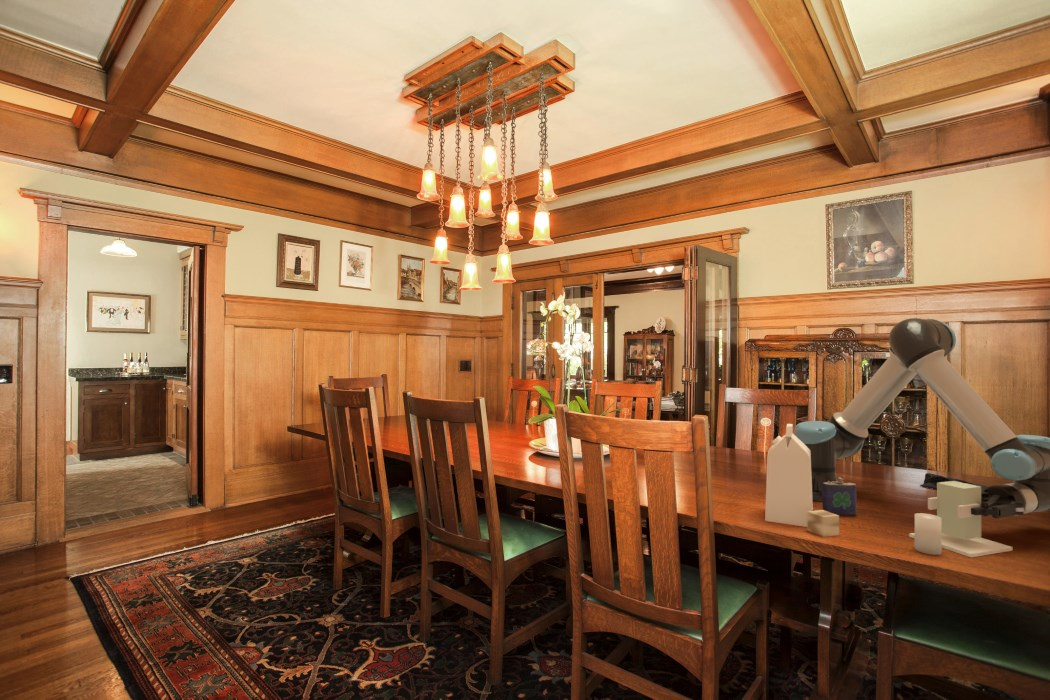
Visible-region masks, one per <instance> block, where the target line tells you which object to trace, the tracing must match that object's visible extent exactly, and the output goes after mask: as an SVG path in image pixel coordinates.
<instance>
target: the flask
mask: <svg viewBox="0 0 1050 700" xmlns="http://www.w3.org/2000/svg"><path fill="white" fill-rule="evenodd" d="M843 480H845V479H844V478H842V477H839V476H838V477H837V481H835V482H834V481H832V482H834V483H832V482H829V481H828V482H825V483H823V484H822V487H823V488H822V492H823V501H822V510H825V511H828V512H830V513H833V514H836V515H839V517H855V516H857V515H858V514H857V513H858V512H857V484H856V483H853V482H844V481H843Z"/></svg>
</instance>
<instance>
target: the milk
mask: <svg viewBox="0 0 1050 700" xmlns="http://www.w3.org/2000/svg"><path fill="white" fill-rule="evenodd" d="M793 426H794V424H793V423H787V424H786V426H785V427H786V428H785V434H784V435H783V436H780V435H778V436H777V437H776V438H774V439H773V440H772V441H771V443H772V444H771V446H770V447H769V448H768V450H767V458H766V483H765V485H766V486H765V487H766V489H765V512H764V513H765V514H764V515H765V516H764V517H765V518H764V521H765V522H771V523H778V524H784V525H791V526H799V527H804V528H808V511H814V505H813V503H814V502H813V501H814V500H813V498H812V475H811V453H810V450H809V448H808V447H807V446H806V445H805V444H804V443H803V442H802V441H800V440H799V439H798V438H797V437H796V436H795V435H794V433H793V432H794V431H793V430H794V427H793Z"/></svg>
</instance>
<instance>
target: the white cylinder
mask: <svg viewBox="0 0 1050 700" xmlns="http://www.w3.org/2000/svg"><path fill="white" fill-rule="evenodd" d="M914 533H915V539H914V550H915V551H917V552H919V553H923V554H925V555H935V556H936V555H937V556H938V555H941V554H942V549H943V548H942V530H941V517H939V516H937V514H936V515H934V514H931V513H922V512H920V513H919V512H918V513H914Z"/></svg>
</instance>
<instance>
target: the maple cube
mask: <svg viewBox="0 0 1050 700" xmlns="http://www.w3.org/2000/svg"><path fill="white" fill-rule="evenodd" d="M807 531H808V532H811V533H814V534H815V535H818V536H819V537H823V538H825V537H832V536H833V537H834V536H840V516H839V515H836V514H833V513H830V512H828V511H825V510H823V509H817V510H816V509H815V510H813V511H808V527H807Z"/></svg>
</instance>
